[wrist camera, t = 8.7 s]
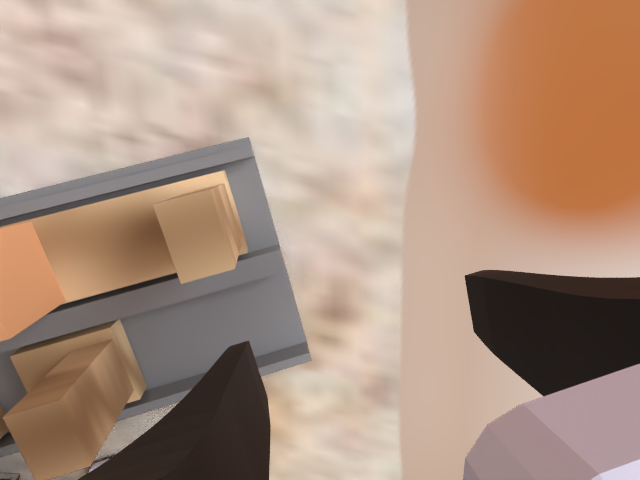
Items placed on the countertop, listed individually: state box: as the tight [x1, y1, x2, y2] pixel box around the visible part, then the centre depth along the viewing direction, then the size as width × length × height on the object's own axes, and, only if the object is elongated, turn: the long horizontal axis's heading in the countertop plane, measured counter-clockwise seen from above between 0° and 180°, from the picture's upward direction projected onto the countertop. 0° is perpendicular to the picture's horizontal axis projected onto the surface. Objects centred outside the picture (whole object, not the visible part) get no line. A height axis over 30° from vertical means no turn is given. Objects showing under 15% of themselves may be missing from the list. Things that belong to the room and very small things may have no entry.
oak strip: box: [0, 170, 248, 304], centre depth 16 cm, size 4×12×6 cm, turn 104°
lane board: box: [0, 137, 312, 457], centre depth 19 cm, size 12×22×2 cm, turn 104°
